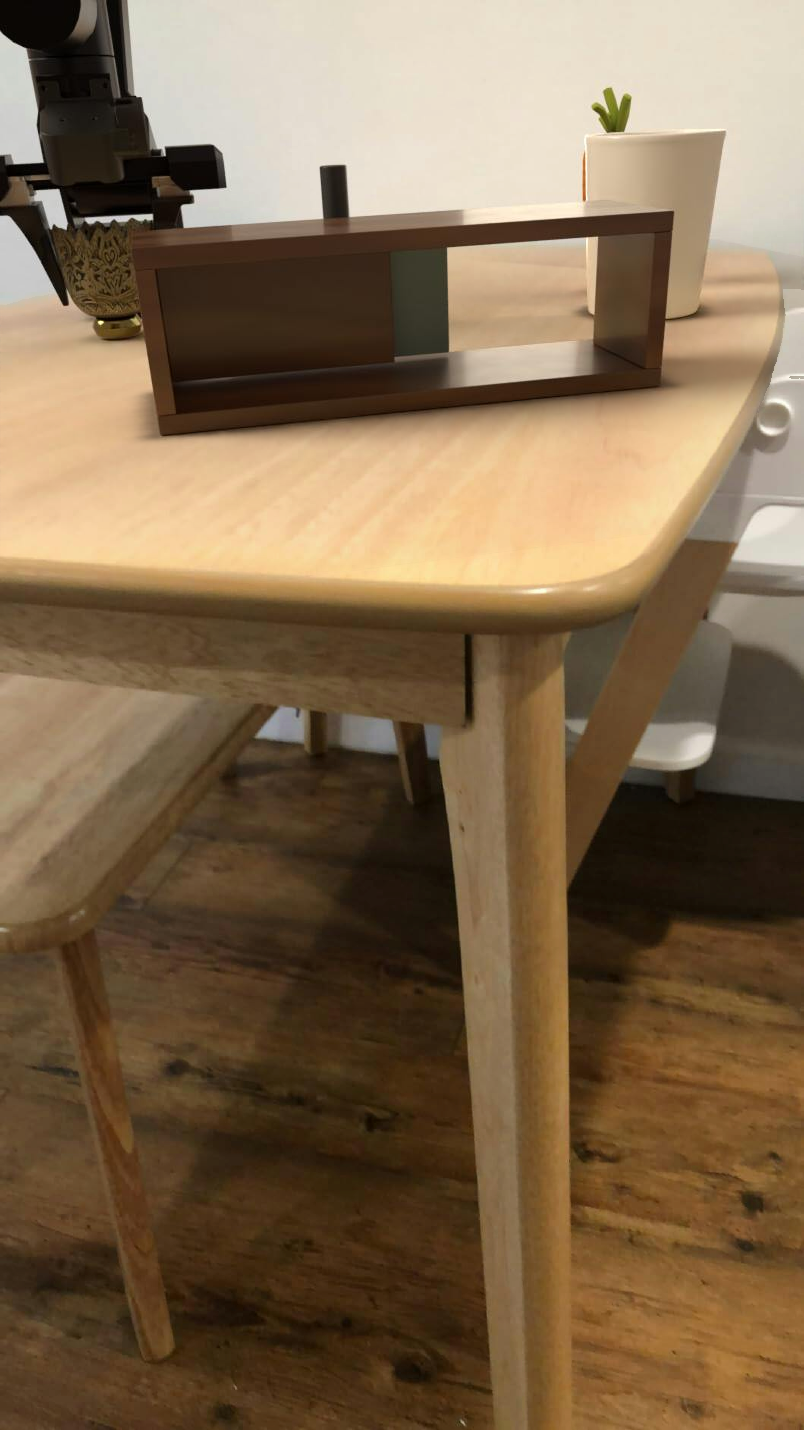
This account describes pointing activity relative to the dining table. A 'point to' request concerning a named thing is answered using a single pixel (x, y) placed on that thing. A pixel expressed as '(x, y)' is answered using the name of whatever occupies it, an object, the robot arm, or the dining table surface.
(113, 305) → the cup
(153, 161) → the robot arm
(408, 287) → the dark piece
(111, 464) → the dining table surface
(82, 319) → the dining table surface
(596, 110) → the carrot
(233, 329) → the display case
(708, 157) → the white plant pot
